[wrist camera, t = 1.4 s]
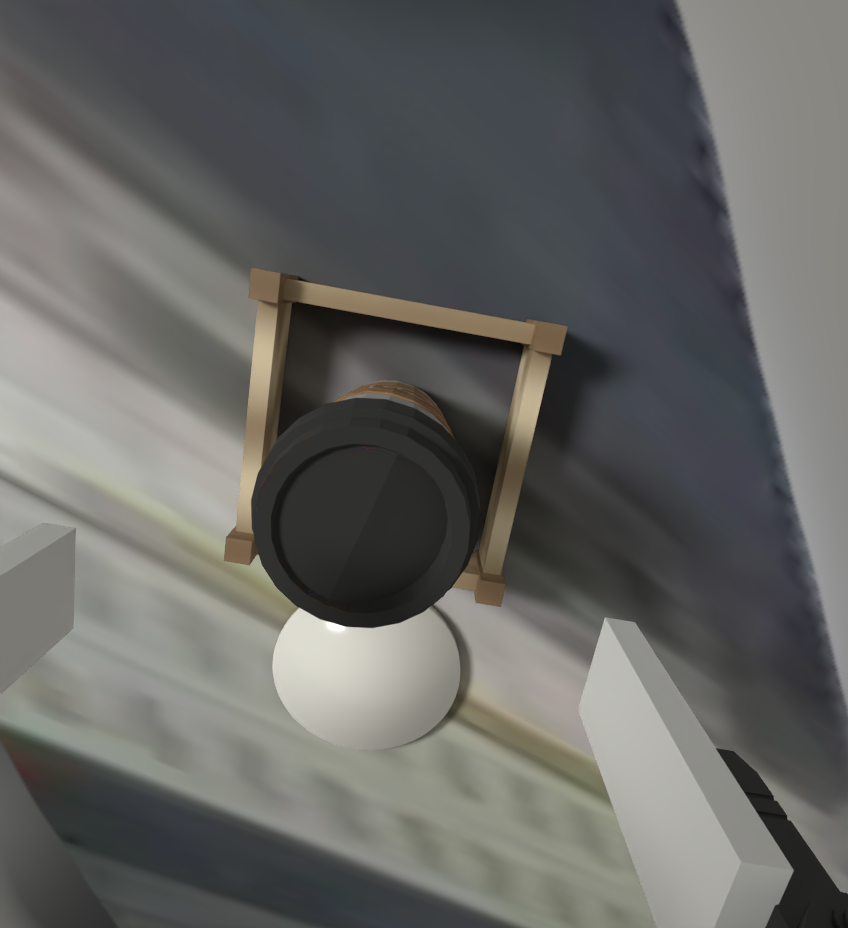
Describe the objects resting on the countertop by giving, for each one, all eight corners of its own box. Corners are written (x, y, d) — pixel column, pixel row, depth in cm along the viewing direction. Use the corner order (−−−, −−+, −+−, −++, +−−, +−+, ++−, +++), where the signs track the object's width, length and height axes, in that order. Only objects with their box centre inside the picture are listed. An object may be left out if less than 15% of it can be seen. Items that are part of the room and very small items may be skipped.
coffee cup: (487, 399, 33) (530, 475, 19) (424, 523, 35) (421, 676, 21) (353, 335, 33) (291, 364, 18) (297, 466, 35) (201, 585, 20)
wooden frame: (273, 271, 32) (251, 267, 28) (551, 323, 32) (567, 326, 28) (246, 532, 36) (223, 560, 32) (493, 574, 36) (500, 606, 32)
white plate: (286, 566, 36) (283, 572, 36) (476, 598, 37) (477, 604, 36) (266, 726, 40) (263, 735, 39) (441, 753, 40) (441, 762, 39)
